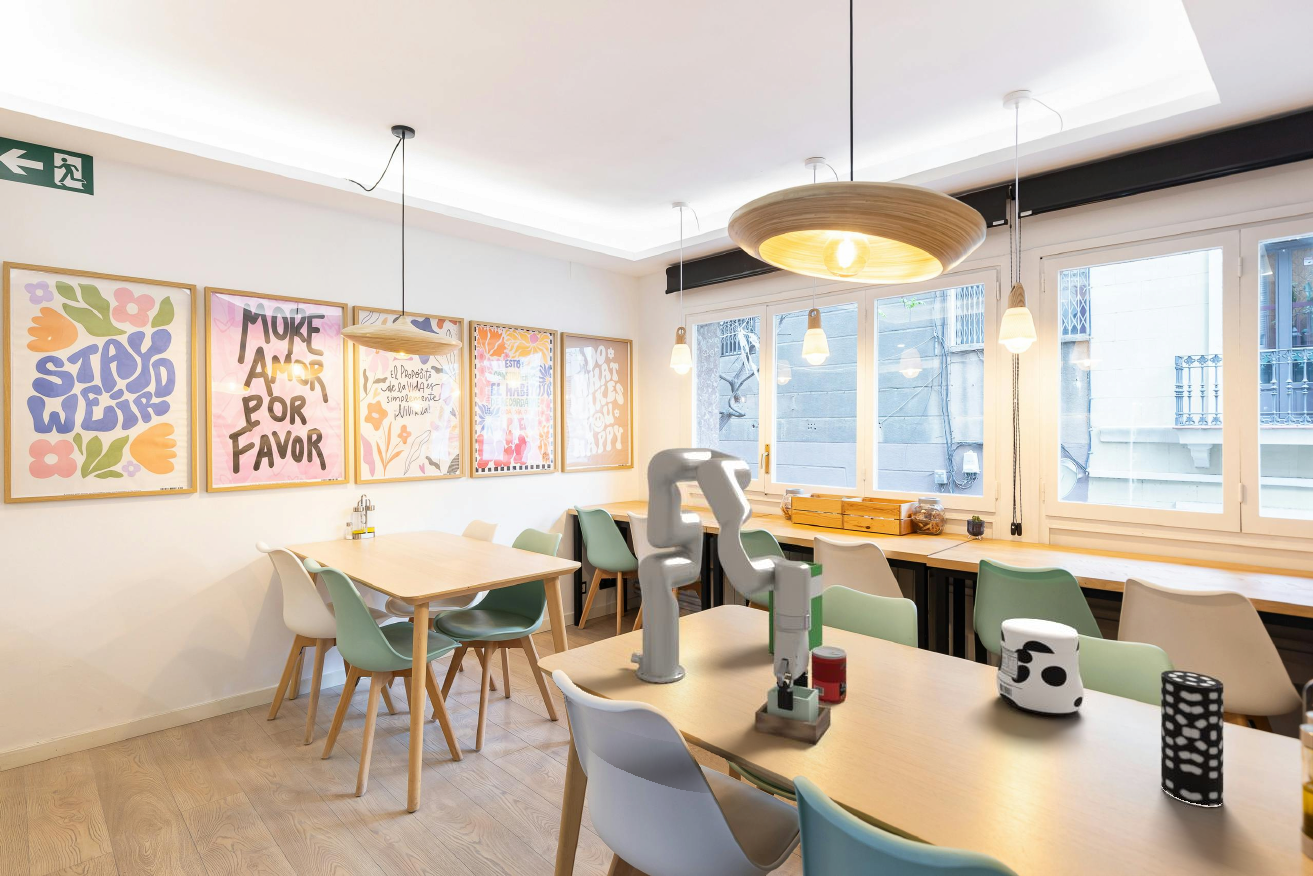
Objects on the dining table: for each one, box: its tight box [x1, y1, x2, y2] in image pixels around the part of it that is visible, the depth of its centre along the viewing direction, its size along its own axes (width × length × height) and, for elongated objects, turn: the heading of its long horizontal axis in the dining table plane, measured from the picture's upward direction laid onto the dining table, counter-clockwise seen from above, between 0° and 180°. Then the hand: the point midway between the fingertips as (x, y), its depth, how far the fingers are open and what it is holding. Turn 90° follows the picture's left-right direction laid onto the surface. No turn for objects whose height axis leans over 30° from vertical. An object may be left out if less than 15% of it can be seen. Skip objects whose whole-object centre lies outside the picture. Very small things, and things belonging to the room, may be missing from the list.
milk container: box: [995, 618, 1085, 716], centre depth 152 cm, size 17×17×18 cm
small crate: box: [766, 683, 819, 723], centre depth 141 cm, size 9×6×7 cm
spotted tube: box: [1160, 669, 1224, 806], centre depth 114 cm, size 8×8×20 cm
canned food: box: [811, 645, 847, 704], centre depth 157 cm, size 8×8×11 cm
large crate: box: [754, 701, 832, 746], centre depth 141 cm, size 13×10×4 cm
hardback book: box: [768, 560, 823, 655], centre depth 192 cm, size 18×7×24 cm, turn 139°
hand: (793, 701), depth 141 cm, fingers open, 9 cm apart
